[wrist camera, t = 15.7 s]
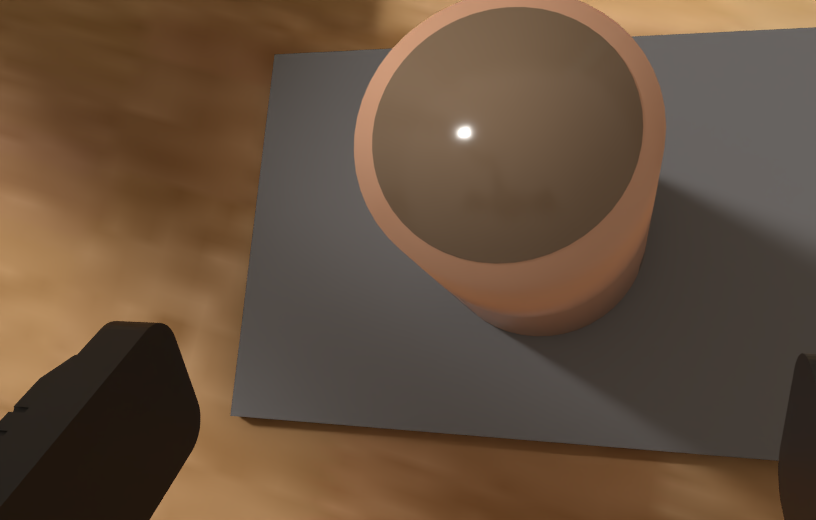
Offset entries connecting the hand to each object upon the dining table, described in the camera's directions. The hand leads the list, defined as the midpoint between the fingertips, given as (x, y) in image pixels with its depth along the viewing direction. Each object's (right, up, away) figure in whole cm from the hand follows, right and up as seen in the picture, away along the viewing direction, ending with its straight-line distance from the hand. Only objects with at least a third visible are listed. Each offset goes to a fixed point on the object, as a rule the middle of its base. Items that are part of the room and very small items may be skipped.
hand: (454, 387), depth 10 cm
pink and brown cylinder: (+3, +2, +12) cm, 13 cm away
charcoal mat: (+3, +2, +13) cm, 13 cm away
